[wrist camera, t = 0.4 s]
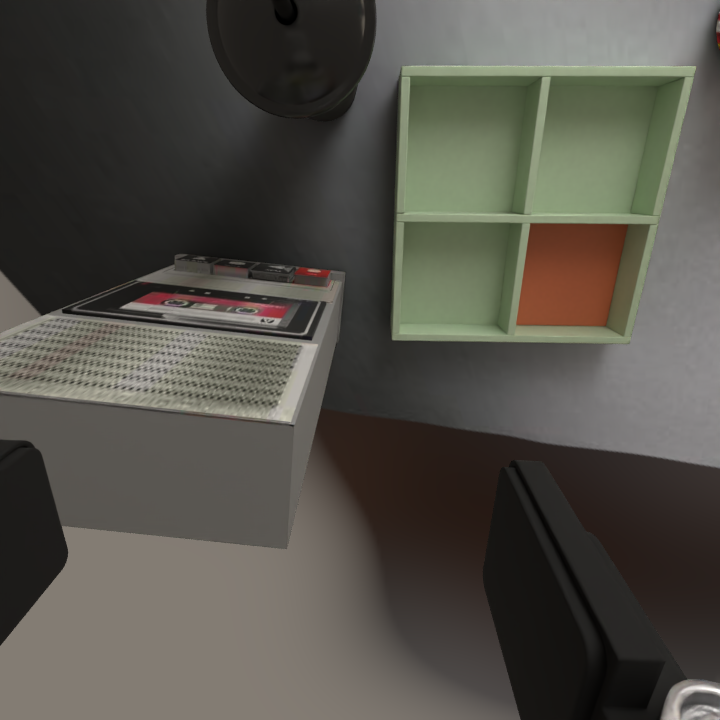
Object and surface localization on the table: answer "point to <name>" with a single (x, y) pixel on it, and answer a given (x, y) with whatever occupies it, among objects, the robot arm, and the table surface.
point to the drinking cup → (294, 52)
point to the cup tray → (529, 199)
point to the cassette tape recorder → (178, 398)
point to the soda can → (718, 30)
